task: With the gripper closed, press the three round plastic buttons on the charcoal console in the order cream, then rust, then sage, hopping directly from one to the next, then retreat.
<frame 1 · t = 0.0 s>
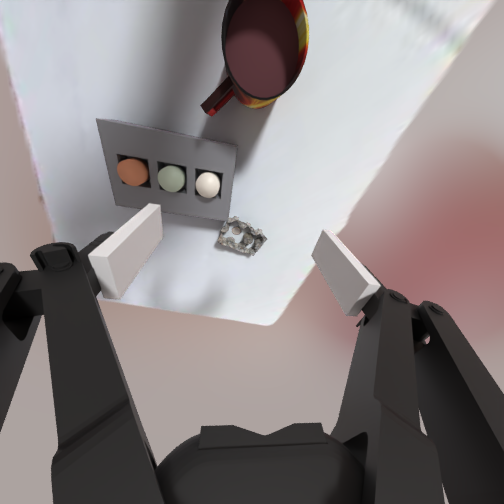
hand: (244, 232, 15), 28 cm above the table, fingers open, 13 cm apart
egg carton: (242, 232, 47), on the table
sage button: (172, 178, 34), point 5 cm above the table, slide at 0.0 cm
cream button: (208, 184, 35), point 5 cm above the table, slide at 0.0 cm
rust button: (134, 171, 33), point 5 cm above the table, slide at 0.0 cm
console: (179, 172, 38), on the table
mug: (250, 86, 31), on the table
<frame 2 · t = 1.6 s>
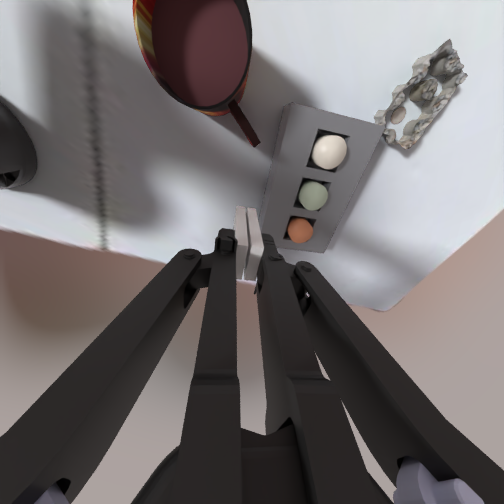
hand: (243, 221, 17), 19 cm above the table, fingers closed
egg carton: (404, 103, 29), on the table
sage button: (311, 195, 31), point 5 cm above the table, slide at 0.0 cm
cream button: (327, 152, 27), point 5 cm above the table, slide at 0.0 cm
rust button: (299, 229, 34), point 5 cm above the table, slide at 0.0 cm
console: (302, 187, 35), on the table
mug: (226, 83, 26), on the table
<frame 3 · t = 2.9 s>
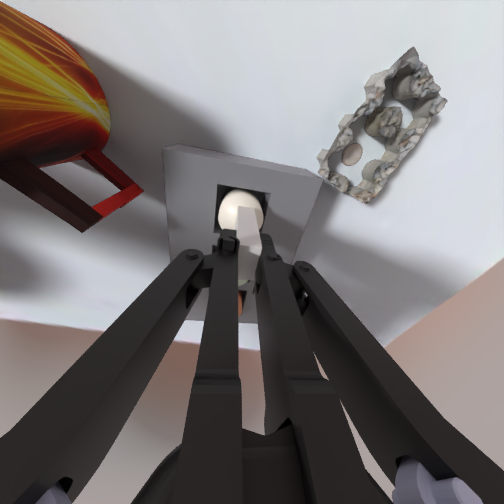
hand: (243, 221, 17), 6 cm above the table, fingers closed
egg carton: (360, 138, 20), on the table
sage button: (232, 264, 22), point 5 cm above the table, slide at 0.0 cm
cream button: (240, 212, 18), point 5 cm above the table, slide at 0.3 cm, touching gripper
rust button: (226, 301, 25), point 5 cm above the table, slide at 0.0 cm
console: (233, 243, 26), on the table
mug: (79, 113, 17), on the table
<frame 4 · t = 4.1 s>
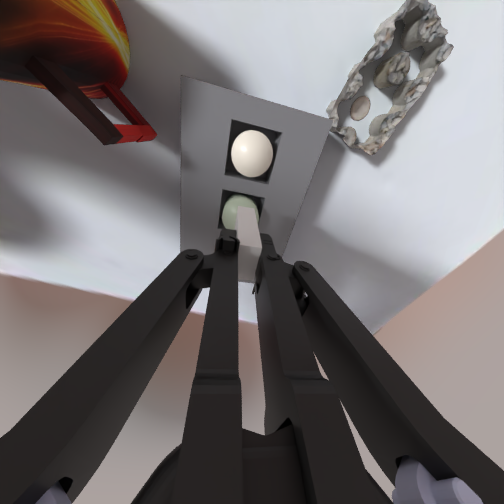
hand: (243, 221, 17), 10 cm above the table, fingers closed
egg carton: (368, 91, 21), on the table
sage button: (240, 213, 22), point 5 cm above the table, slide at 0.0 cm
cream button: (251, 153, 20), point 4 cm above the table, slide at 1.3 cm
console: (240, 200, 26), on the table
mug: (99, 48, 17), on the table
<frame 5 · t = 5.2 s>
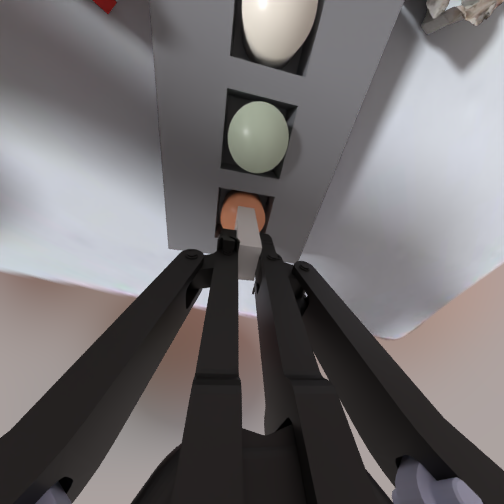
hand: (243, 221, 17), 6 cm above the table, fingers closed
sage button: (256, 139, 14), point 5 cm above the table, slide at 0.0 cm
cream button: (275, 18, 11), point 4 cm above the table, slide at 1.3 cm
rust button: (242, 213, 18), point 4 cm above the table, slide at 1.2 cm, touching gripper
console: (252, 136, 18), on the table
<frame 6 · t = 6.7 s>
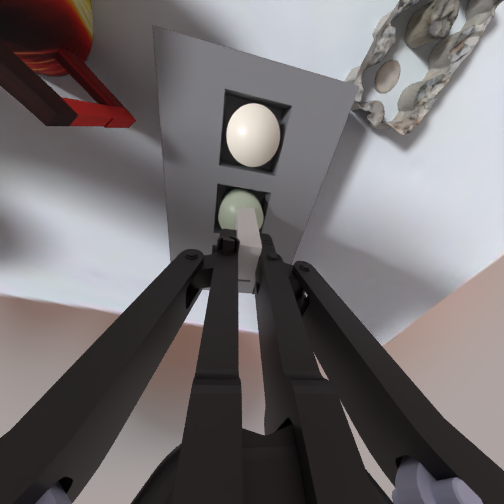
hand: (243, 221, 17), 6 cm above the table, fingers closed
egg carton: (397, 54, 16), on the table
sage button: (240, 212, 18), point 5 cm above the table, slide at 0.3 cm, touching gripper
cream button: (251, 136, 16), point 4 cm above the table, slide at 1.3 cm
console: (239, 197, 22), on the table
mug: (53, 7, 13), on the table
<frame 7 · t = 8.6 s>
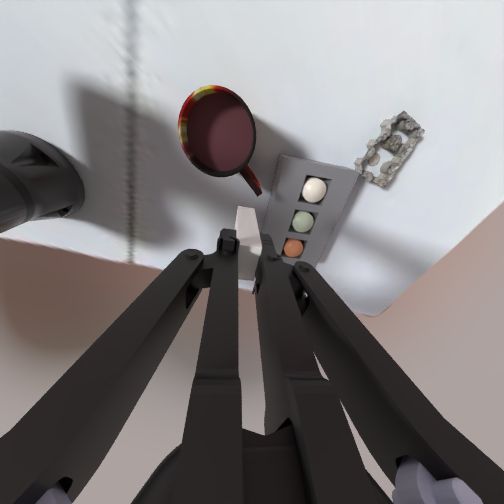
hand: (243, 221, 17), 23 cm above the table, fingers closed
egg carton: (378, 150, 36), on the table
sage button: (301, 219, 39), point 4 cm above the table, slide at 1.3 cm
cream button: (312, 189, 35), point 4 cm above the table, slide at 1.3 cm
rust button: (292, 245, 42), point 4 cm above the table, slide at 1.3 cm
console: (297, 213, 42), on the table
mug: (235, 141, 34), on the table
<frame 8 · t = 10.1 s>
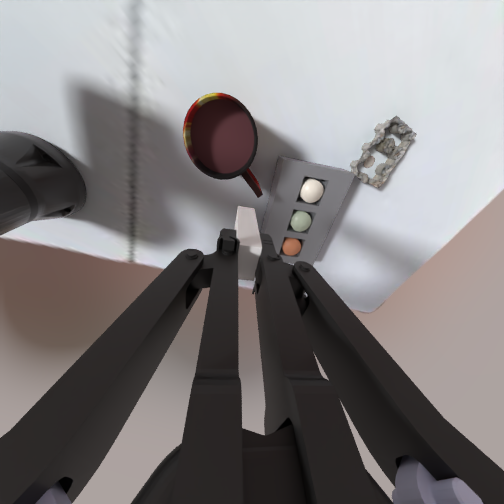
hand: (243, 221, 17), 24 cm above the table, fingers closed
egg carton: (373, 152, 37), on the table
sage button: (299, 219, 40), point 4 cm above the table, slide at 1.3 cm
cream button: (309, 189, 36), point 4 cm above the table, slide at 1.3 cm
rust button: (290, 244, 44), point 4 cm above the table, slide at 1.3 cm
console: (295, 213, 43), on the table
mug: (236, 143, 35), on the table
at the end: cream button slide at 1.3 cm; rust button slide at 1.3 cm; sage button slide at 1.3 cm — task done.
